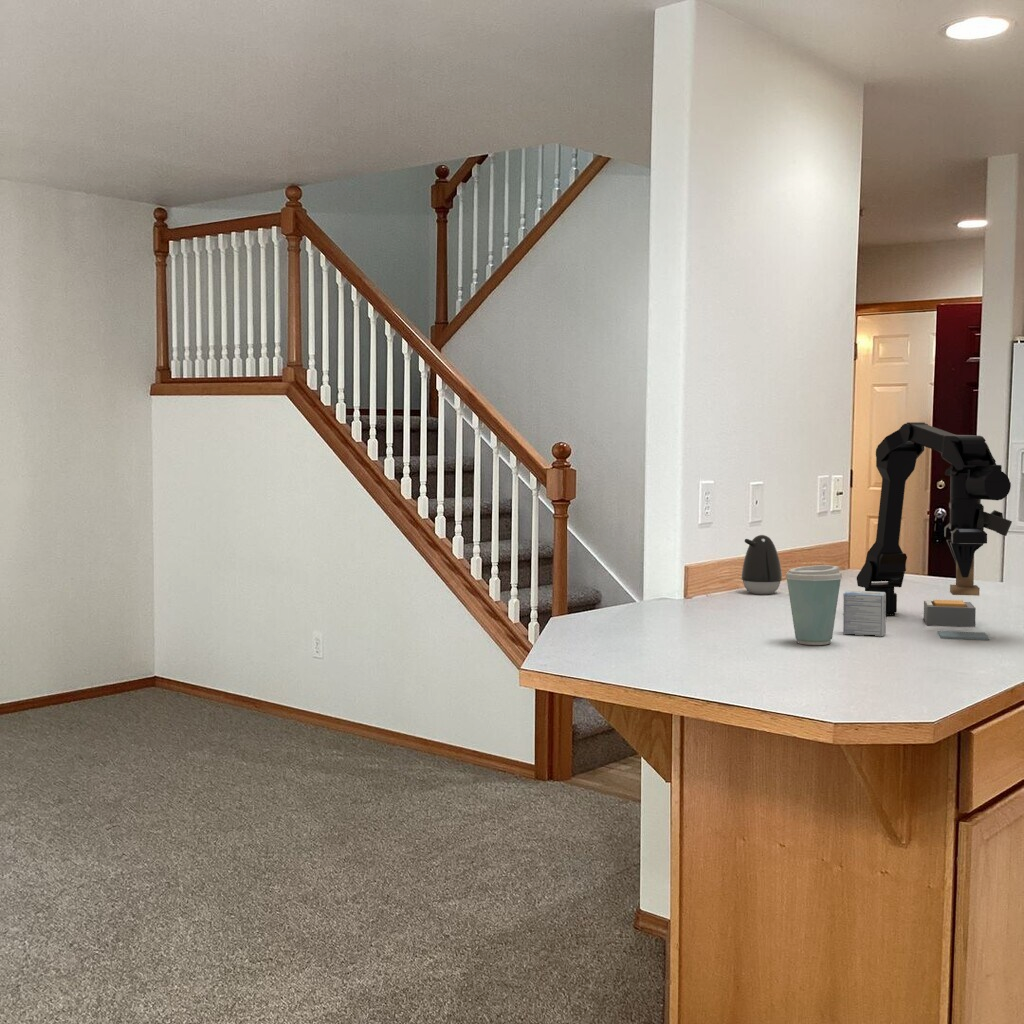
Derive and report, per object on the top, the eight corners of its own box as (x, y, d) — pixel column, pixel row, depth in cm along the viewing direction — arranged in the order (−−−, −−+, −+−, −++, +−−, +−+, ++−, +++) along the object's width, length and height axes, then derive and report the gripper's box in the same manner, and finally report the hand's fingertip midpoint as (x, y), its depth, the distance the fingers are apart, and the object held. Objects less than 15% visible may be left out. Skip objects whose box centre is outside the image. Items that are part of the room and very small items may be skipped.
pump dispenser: (732, 592, 305) (733, 534, 304) (765, 590, 310) (765, 532, 309) (756, 596, 296) (757, 537, 295) (789, 594, 300) (790, 535, 300)
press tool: (952, 594, 233) (953, 552, 232) (949, 591, 237) (950, 550, 237) (979, 595, 231) (980, 552, 231) (976, 592, 236) (977, 550, 236)
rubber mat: (940, 638, 233) (940, 636, 233) (937, 632, 239) (937, 630, 239) (989, 640, 230) (989, 637, 230) (984, 634, 237) (984, 632, 237)
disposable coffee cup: (802, 648, 221) (803, 570, 221) (774, 639, 232) (775, 564, 231) (851, 646, 224) (852, 568, 223) (822, 637, 235) (823, 562, 234)
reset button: (935, 619, 250) (935, 603, 250) (933, 615, 256) (933, 599, 256) (965, 620, 249) (965, 604, 248) (962, 615, 254) (962, 600, 254)
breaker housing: (927, 625, 249) (927, 605, 249) (923, 618, 258) (923, 599, 258) (975, 626, 247) (975, 607, 246) (969, 620, 256) (970, 601, 256)
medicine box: (886, 634, 238) (886, 591, 238) (883, 637, 234) (883, 594, 234) (846, 631, 242) (846, 590, 241) (842, 634, 238) (843, 592, 237)
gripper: (1016, 500, 222) (1014, 582, 223) (1002, 496, 240) (1000, 572, 241) (953, 500, 225) (952, 581, 226) (944, 496, 243) (943, 571, 244)
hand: (964, 576), depth 234 cm, fingers closed on press tool, 3 cm apart
